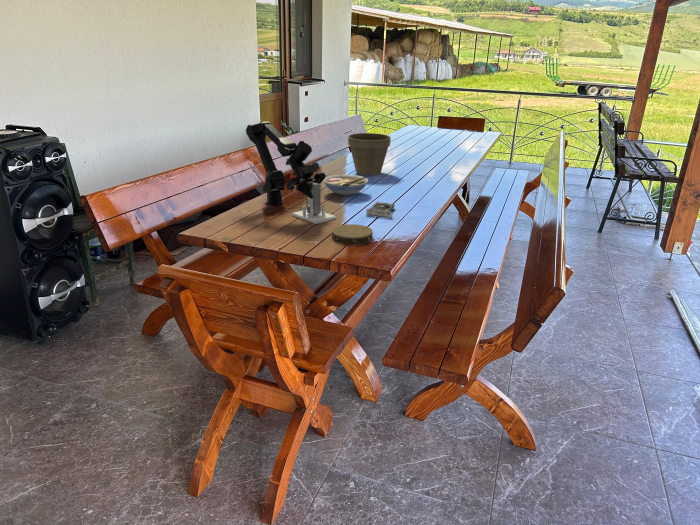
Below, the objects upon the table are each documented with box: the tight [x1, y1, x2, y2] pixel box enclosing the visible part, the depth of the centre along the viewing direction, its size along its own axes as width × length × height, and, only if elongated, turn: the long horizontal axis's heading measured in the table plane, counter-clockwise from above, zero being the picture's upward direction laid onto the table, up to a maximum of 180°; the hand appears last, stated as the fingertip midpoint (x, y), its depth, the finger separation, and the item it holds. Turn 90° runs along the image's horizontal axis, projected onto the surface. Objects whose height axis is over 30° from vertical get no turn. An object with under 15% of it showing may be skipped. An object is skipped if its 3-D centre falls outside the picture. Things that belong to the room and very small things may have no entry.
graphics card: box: [365, 201, 395, 219], centre depth 237 cm, size 17×4×12 cm
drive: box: [306, 182, 322, 215], centre depth 226 cm, size 5×4×13 cm
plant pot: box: [347, 132, 392, 176], centre depth 307 cm, size 25×25×22 cm
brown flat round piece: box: [331, 223, 373, 245], centre depth 205 cm, size 16×16×3 cm
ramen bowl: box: [322, 174, 370, 197], centre depth 264 cm, size 25×23×8 cm
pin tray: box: [292, 204, 336, 225], centre depth 228 cm, size 16×11×5 cm
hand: (315, 197), depth 224 cm, fingers closed on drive, 4 cm apart
